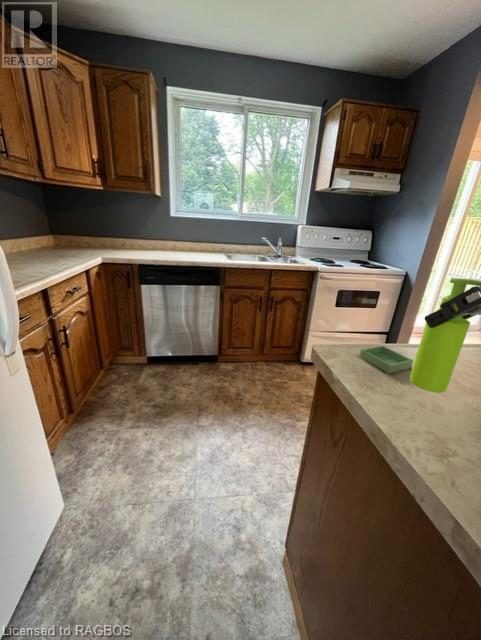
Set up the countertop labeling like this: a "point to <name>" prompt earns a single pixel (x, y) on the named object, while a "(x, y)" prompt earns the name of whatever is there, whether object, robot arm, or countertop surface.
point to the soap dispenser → (441, 347)
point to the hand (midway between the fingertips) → (440, 320)
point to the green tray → (386, 359)
